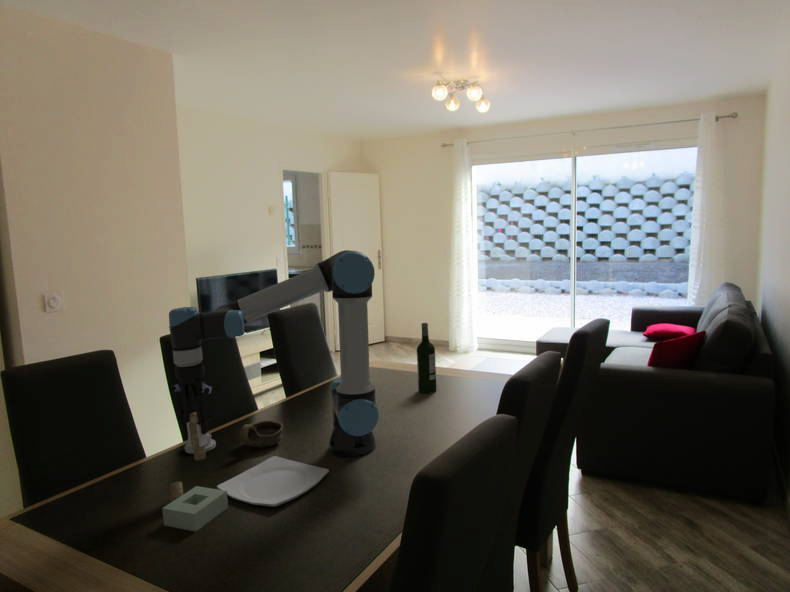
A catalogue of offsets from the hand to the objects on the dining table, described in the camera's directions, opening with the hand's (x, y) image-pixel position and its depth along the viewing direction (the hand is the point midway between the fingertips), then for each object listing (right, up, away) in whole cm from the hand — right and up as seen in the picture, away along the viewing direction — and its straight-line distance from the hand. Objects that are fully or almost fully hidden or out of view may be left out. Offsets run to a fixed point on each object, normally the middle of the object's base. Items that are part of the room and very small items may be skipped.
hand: (198, 444), depth 151 cm
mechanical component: (-11, -10, +31) cm, 35 cm away
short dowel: (-2, -14, -8) cm, 17 cm away
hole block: (+5, -14, -14) cm, 21 cm away
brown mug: (+10, -9, +30) cm, 33 cm away
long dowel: (0, -4, 0) cm, 4 cm away
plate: (+21, -12, +1) cm, 25 cm away
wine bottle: (+70, 0, +83) cm, 108 cm away
